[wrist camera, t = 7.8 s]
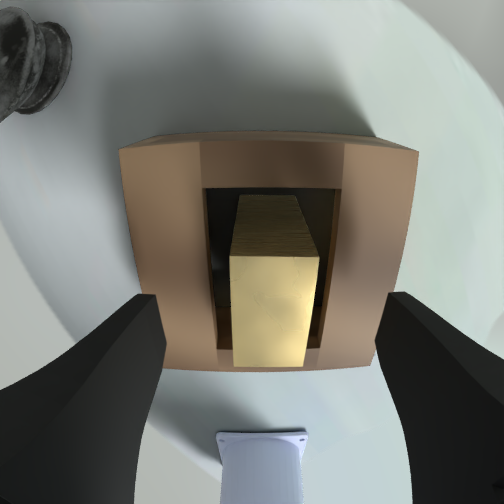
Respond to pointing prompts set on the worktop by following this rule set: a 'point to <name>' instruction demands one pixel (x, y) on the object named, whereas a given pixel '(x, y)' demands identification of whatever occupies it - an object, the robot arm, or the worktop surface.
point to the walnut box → (267, 175)
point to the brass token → (271, 282)
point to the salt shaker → (30, 62)
